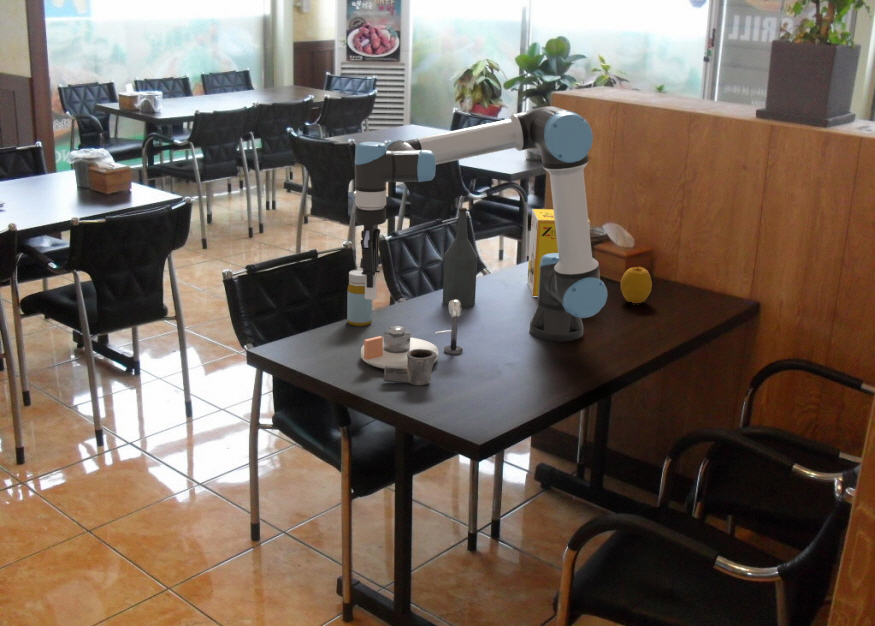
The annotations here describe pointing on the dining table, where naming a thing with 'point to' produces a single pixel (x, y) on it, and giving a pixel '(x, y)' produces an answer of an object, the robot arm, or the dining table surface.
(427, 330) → the dining table surface
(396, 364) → the turntable
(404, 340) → the cover
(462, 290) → the bottle
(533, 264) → the packaging box
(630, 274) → the apple
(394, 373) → the pipe
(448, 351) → the silver headed stand
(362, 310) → the bottle
